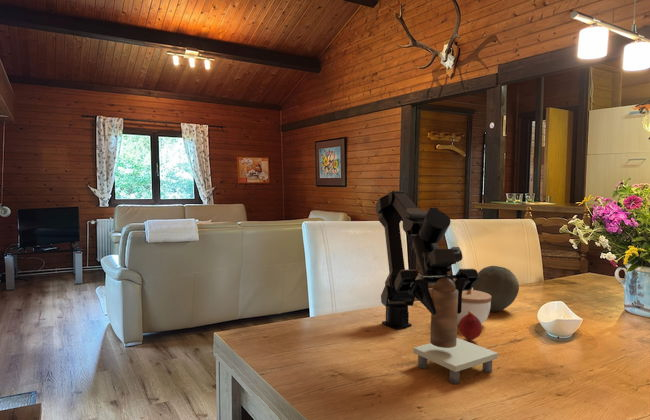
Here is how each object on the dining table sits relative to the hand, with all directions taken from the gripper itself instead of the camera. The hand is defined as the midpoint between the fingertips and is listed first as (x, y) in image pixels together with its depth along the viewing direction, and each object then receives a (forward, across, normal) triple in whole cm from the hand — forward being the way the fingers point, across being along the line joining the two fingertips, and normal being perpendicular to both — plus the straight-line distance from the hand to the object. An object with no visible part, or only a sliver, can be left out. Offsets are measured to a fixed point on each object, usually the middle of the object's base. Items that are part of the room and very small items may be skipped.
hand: (447, 313), depth 93 cm
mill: (+4, 0, +6) cm, 7 cm away
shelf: (+8, +3, +11) cm, 14 cm away
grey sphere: (-22, +39, +42) cm, 61 cm away
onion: (-3, +16, +23) cm, 28 cm away
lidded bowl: (-13, +22, +33) cm, 42 cm away
